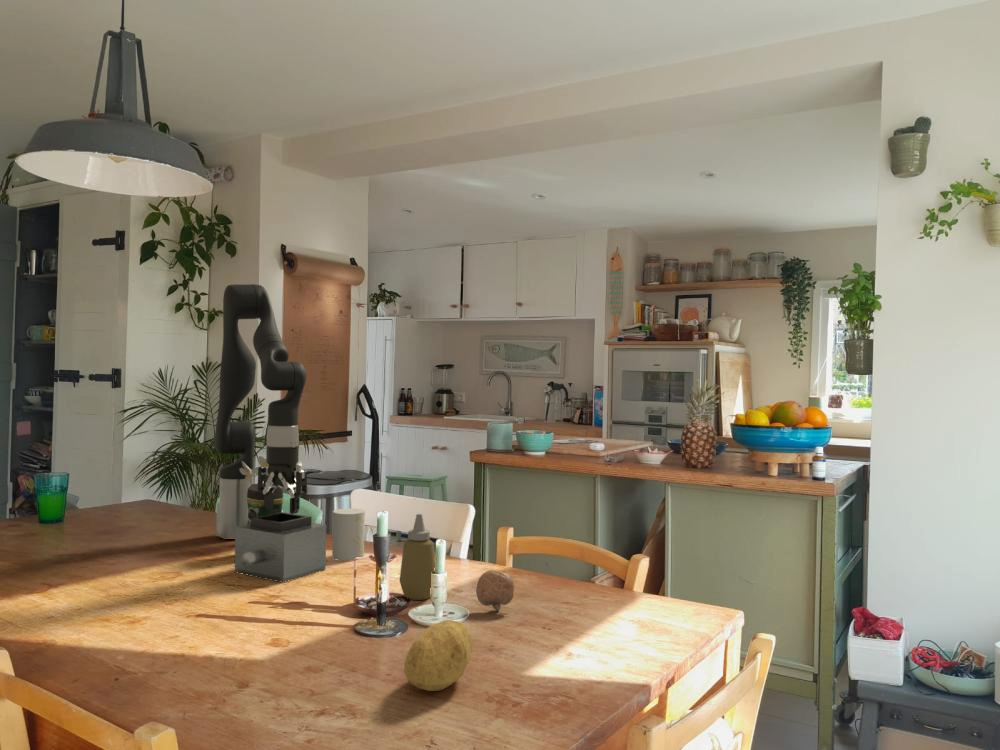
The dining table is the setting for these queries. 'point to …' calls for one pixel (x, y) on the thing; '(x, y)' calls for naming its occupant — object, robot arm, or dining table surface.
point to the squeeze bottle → (417, 562)
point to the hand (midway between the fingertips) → (281, 511)
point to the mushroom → (495, 589)
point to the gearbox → (280, 547)
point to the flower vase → (255, 471)
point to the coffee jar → (262, 502)
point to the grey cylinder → (348, 533)
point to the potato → (438, 656)
